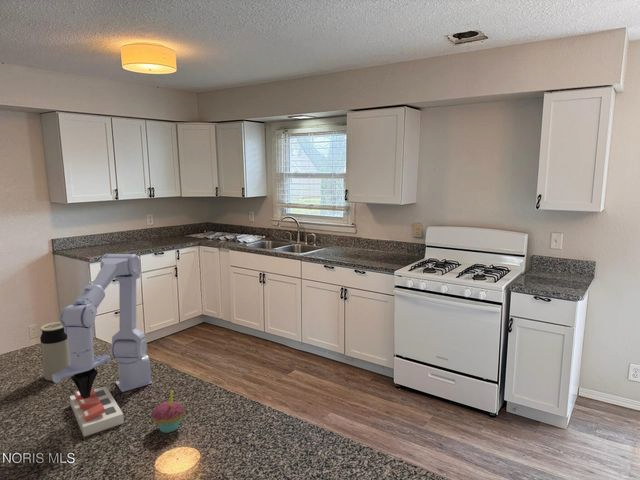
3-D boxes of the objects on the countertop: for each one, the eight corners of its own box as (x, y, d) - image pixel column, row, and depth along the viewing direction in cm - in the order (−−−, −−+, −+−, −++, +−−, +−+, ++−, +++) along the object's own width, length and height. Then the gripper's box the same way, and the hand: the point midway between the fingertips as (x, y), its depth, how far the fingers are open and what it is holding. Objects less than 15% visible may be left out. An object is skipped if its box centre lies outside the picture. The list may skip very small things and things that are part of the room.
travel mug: (76, 374, 149) (71, 324, 146) (51, 383, 142) (46, 331, 139) (64, 368, 153) (59, 320, 150) (40, 377, 147) (34, 327, 144)
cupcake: (191, 422, 120) (189, 382, 118) (171, 440, 112) (169, 397, 111) (165, 416, 123) (163, 377, 121) (144, 433, 115) (142, 392, 113)
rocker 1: (92, 393, 131) (93, 388, 131) (95, 397, 128) (96, 393, 128) (74, 395, 127) (74, 391, 127) (76, 400, 125) (77, 395, 125)
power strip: (99, 381, 143) (98, 373, 143) (123, 423, 120) (123, 413, 120) (64, 391, 137) (63, 382, 137) (83, 436, 114) (82, 426, 113)
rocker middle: (97, 401, 126) (97, 396, 126) (100, 406, 123) (100, 402, 123) (78, 403, 123) (78, 399, 123) (80, 409, 120) (81, 404, 120)
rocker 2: (102, 406, 121) (101, 402, 121) (105, 412, 119) (104, 408, 118) (83, 415, 119) (82, 411, 118) (86, 421, 116) (84, 417, 115)
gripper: (98, 337, 122) (102, 382, 124) (44, 355, 110) (49, 404, 112) (113, 342, 118) (117, 388, 120) (58, 361, 106) (63, 412, 108)
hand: (85, 396), depth 116 cm, fingers closed
